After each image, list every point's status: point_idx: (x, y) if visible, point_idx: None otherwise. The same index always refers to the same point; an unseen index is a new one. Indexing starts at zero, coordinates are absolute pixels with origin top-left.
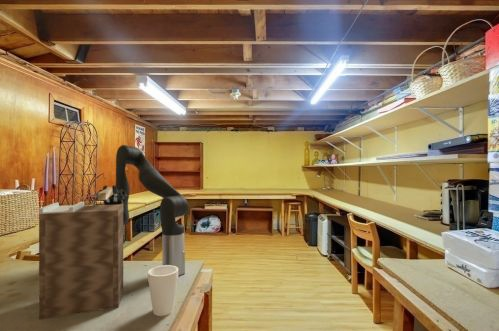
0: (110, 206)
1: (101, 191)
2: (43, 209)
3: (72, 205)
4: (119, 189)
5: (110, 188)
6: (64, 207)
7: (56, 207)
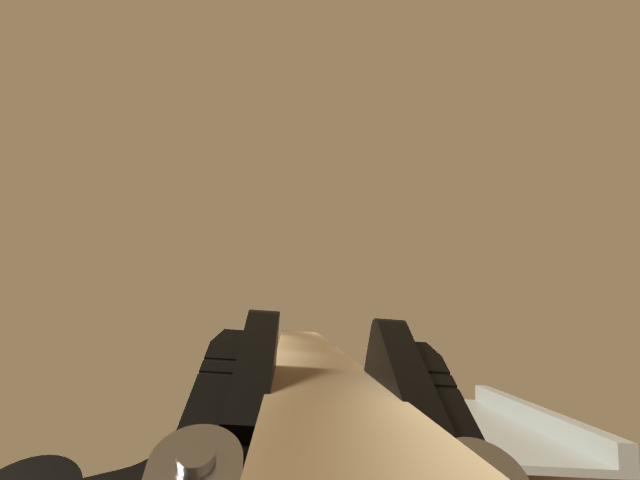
0: None
1: (321, 338)
2: (477, 390)
3: (521, 461)
4: (79, 474)
5: (315, 379)
6: (498, 433)
7: (549, 440)
